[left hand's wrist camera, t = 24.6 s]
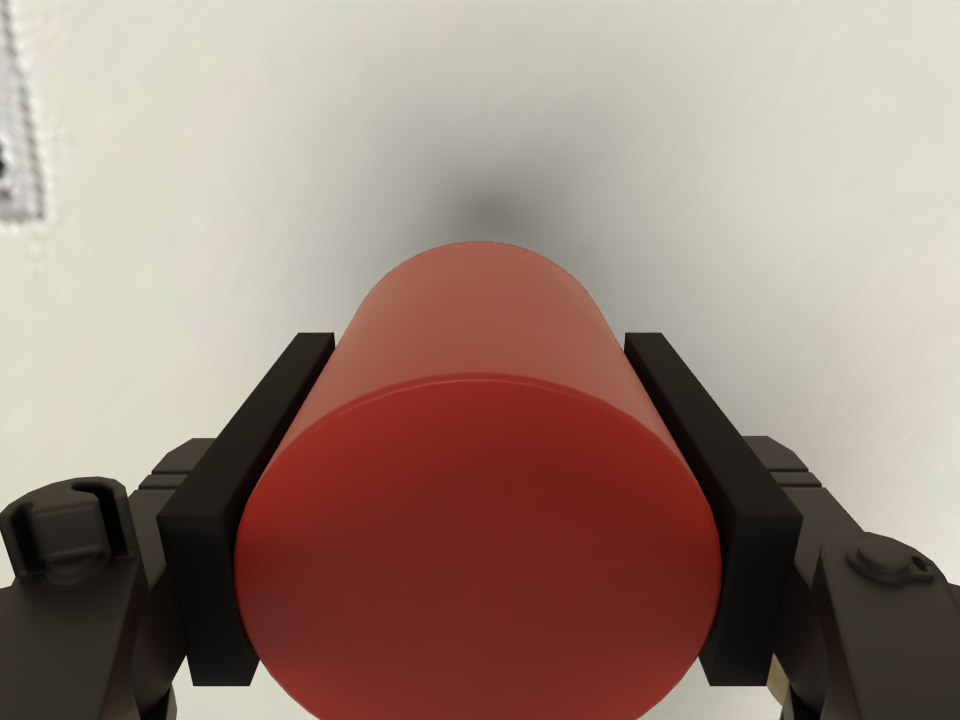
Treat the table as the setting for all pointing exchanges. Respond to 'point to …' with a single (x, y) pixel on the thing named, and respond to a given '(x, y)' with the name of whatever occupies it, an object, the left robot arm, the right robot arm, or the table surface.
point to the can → (477, 511)
